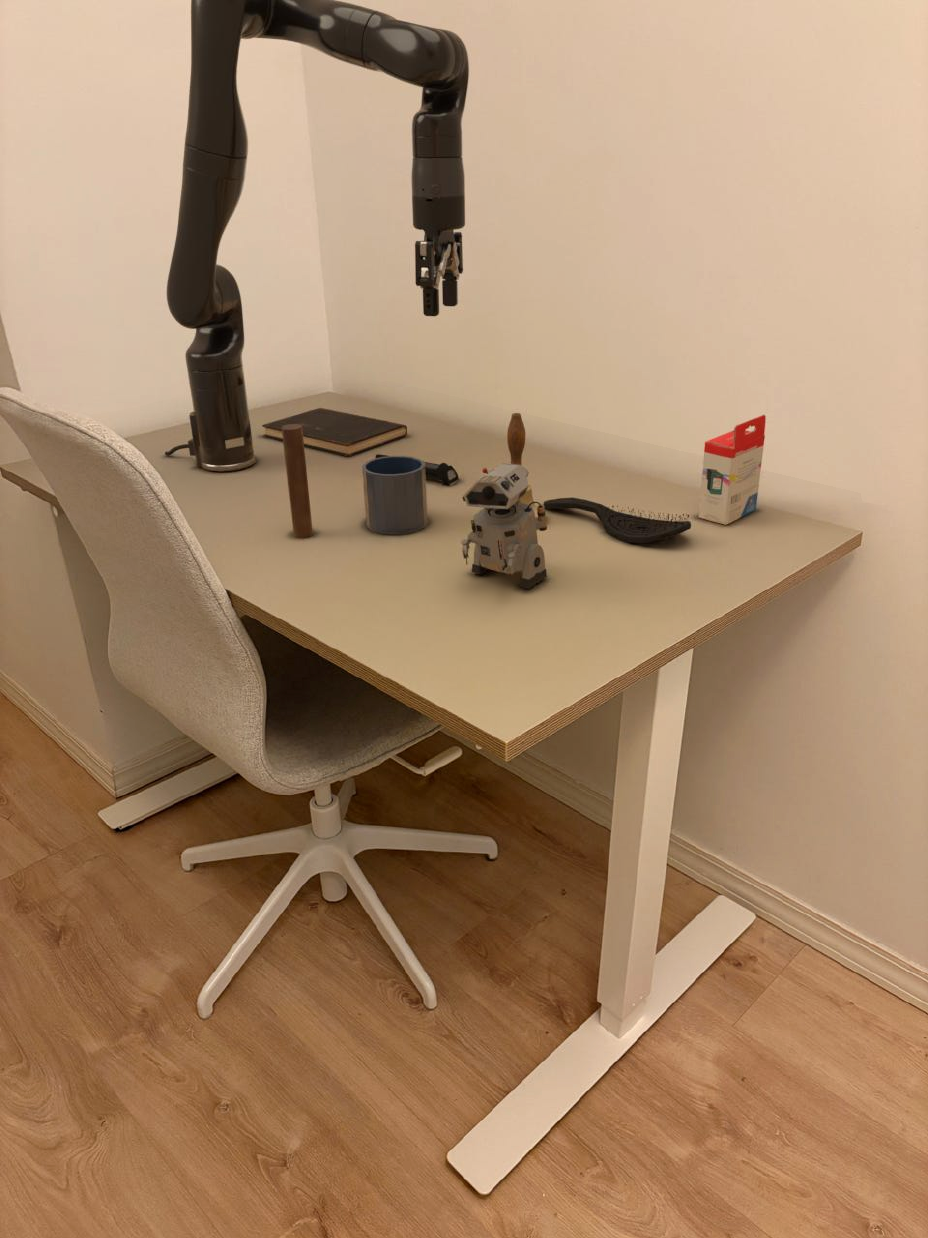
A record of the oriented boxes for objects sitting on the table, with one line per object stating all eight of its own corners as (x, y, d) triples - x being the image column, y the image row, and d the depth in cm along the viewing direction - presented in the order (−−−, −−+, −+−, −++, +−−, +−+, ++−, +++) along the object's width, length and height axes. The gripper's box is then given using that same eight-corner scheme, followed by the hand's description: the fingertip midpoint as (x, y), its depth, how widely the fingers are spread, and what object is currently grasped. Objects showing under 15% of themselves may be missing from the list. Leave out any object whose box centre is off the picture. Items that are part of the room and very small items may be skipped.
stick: (290, 537, 140) (278, 428, 133) (298, 530, 143) (286, 423, 135) (308, 538, 139) (296, 429, 132) (316, 531, 142) (305, 424, 135)
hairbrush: (562, 481, 150) (703, 510, 134) (562, 504, 152) (702, 535, 136) (527, 495, 145) (670, 527, 129) (528, 519, 147) (670, 553, 131)
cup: (357, 532, 141) (352, 473, 137) (379, 510, 149) (375, 454, 145) (416, 537, 139) (413, 477, 135) (435, 515, 147) (432, 457, 143)
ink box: (728, 503, 148) (738, 408, 142) (757, 510, 145) (768, 413, 138) (696, 518, 143) (705, 420, 136) (726, 526, 140) (736, 426, 133)
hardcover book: (348, 456, 174) (347, 444, 173) (263, 436, 187) (261, 424, 186) (407, 435, 185) (407, 423, 184) (323, 418, 198) (322, 406, 197)
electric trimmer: (384, 467, 169) (383, 450, 167) (460, 480, 161) (459, 461, 160) (371, 474, 166) (370, 455, 164) (448, 486, 158) (447, 468, 157)
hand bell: (479, 516, 146) (477, 411, 139) (529, 507, 149) (529, 404, 142) (503, 534, 139) (502, 425, 132) (554, 524, 142) (556, 417, 135)
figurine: (444, 590, 123) (440, 477, 116) (497, 560, 131) (496, 452, 124) (503, 608, 118) (502, 490, 111) (554, 575, 126) (556, 464, 119)
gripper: (430, 189, 145) (433, 302, 152) (395, 195, 133) (400, 318, 140) (478, 189, 142) (479, 304, 150) (447, 196, 130) (449, 320, 138)
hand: (441, 310), depth 145 cm, fingers open, 8 cm apart
